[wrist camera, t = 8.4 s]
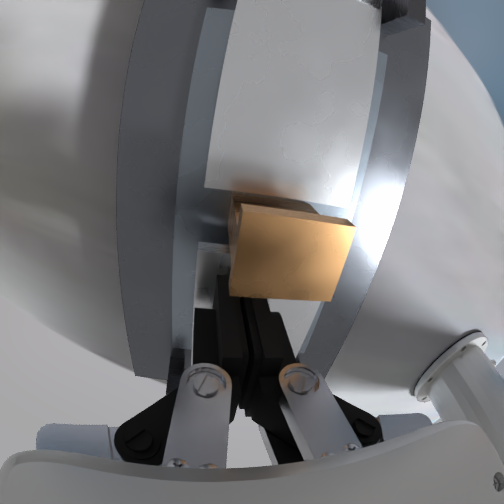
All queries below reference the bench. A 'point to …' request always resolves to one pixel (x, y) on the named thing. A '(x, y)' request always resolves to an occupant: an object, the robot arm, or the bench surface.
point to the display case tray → (242, 203)
